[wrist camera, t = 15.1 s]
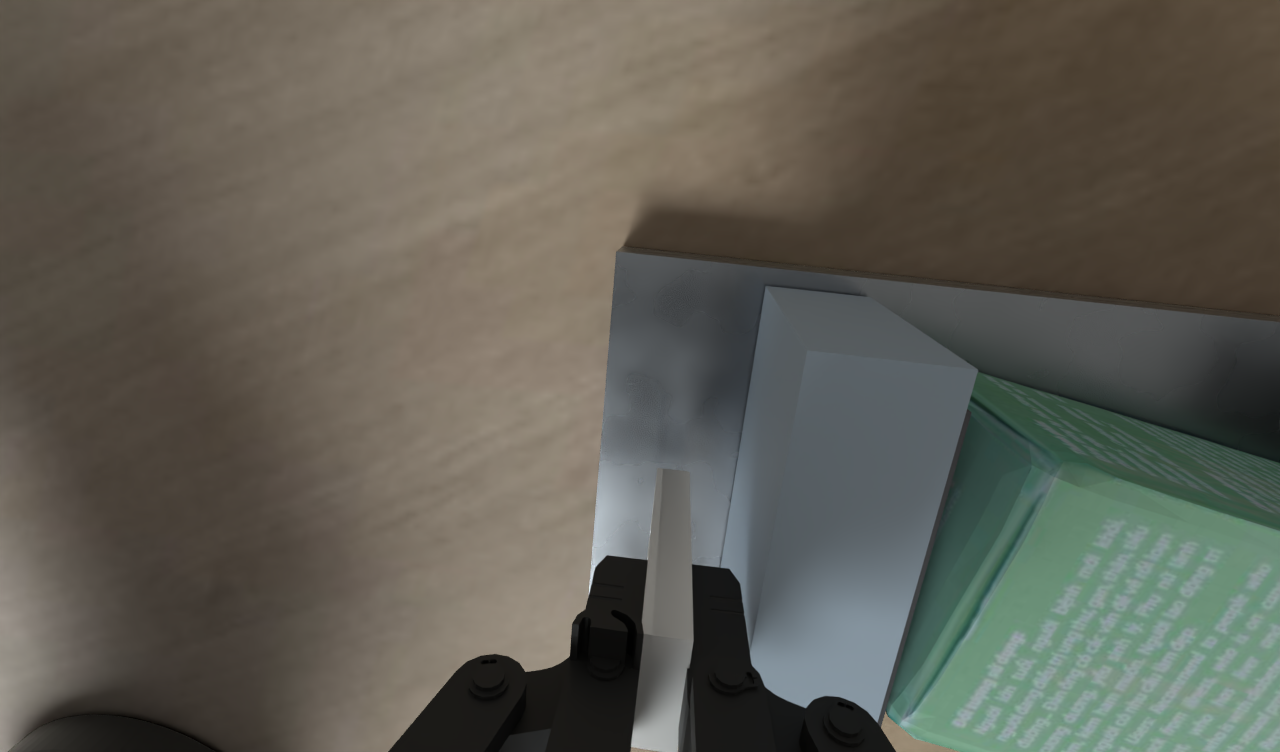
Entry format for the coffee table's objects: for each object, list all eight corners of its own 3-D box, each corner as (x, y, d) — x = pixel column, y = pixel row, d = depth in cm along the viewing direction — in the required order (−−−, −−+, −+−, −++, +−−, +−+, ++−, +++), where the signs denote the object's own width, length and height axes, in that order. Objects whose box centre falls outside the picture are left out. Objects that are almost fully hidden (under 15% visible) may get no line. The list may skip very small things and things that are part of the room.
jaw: (707, 645, 22) (712, 853, 15) (765, 285, 17) (807, 350, 11) (803, 659, 21) (851, 876, 15) (884, 298, 17) (1001, 372, 11)
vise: (592, 608, 24) (537, 830, 16) (622, 246, 19) (567, 293, 11) (1292, 707, 22) (1633, 1009, 14) (1499, 339, 18) (2170, 471, 10)
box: (912, 346, 18) (1055, 461, 11) (1349, 477, 18) (1778, 678, 11) (819, 548, 20) (886, 750, 13) (1204, 662, 20) (1477, 926, 13)
